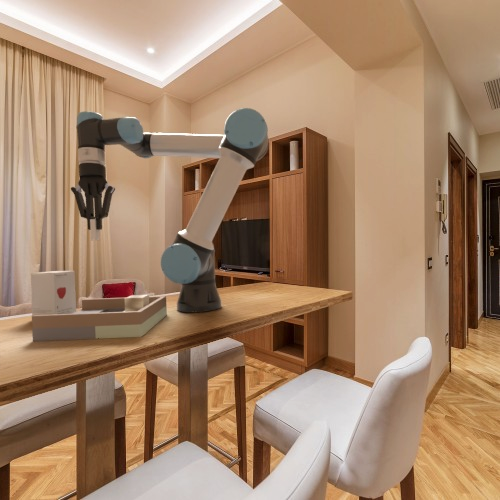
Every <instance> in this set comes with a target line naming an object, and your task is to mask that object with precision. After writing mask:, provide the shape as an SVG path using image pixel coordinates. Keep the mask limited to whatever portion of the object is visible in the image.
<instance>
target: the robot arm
mask: <svg viewBox="0 0 500 500" xmlns="http://www.w3.org/2000/svg"><path fill="white" fill-rule="evenodd" d="M223 128H224V129H223V130H224V131H223V133H224V134H205V133H204V134H198V133H196V134H195V133H193V134H192V133H163V132H158V133H156V132H152V133H151V132H144V128H143V125H142V124H141V121H140V120H139V119H138V118H136V117H134V116H131V117H130V116H122V117H115V118H106V119H105V118H104V117H103V116H102V114H100V113H98V112H95V111H88V110H85V111H80V112H79V113H78V114H77V116H76V133H77V134H76V135H77V136H76V137H77V156H78V157H77V159H78V163H79V165H78V176H79V179H78V182H77V185H76V186H72V187H70V191H71V192H72V194H73V195H74V198H75V202H76V205H77V208H78V212H79V215H80V217H81V218H83V219H86V221H87V229H88V231H90V241H93V242H95V241H100V240H101V238H100V237H101V235H100V230H102V229H103V219H106V218H107V217H109V212H110V208H111V207H110V206H111V202H112V197H113V194H114V192H115V190H116V187H115V186H112V185H110V184H108V181H107V169H106V168H107V167H106V166H105V165H106V151H105V150H106V146H112V145H113V146H114V145H119V146H122V147H123V148H125V149H126V150H128V151H130V152H131V153H133V154H135V156H137V157H138V158H143V159H150V158H152V157H174V158H175V157H176V158H202V159H205V158H206V159H218V161H217V163H216V164H215V167H214V169H213V171H212V173H211V175H210V178H209V180H208V181H207V184H206V185H205V187H204V190H203V192H202V194H201V196H200V198H199V200H198V203H197V205H196V206H195V209H194V211H193V213H192V214H191V215H192V216H191V217H190V219H189V221H188V223H187V226H186V228H185V229H183V230H179V231H178V232H177V234H176V237H175V239H174V240H173V242H172V243H171V245H169V246H168V247H166V248H165V249H164V251H163V253H162V255H161V258H160V268H161V271H162V273H163V275H164V276H165V277H166V279H168V280H169V281H170V282H173V283H175V284H179V285H181V287H180V290H179V295H178V297H177V301H176V310H177V311H179V312H183V313H201V312H203V313H205V312H211V311H215V310H219V309H221V308H222V299H221V297H220V294H219V291H218V288H217V286H216V268H215V267H216V263H215V262H216V260H215V252H216V250H215V245H214V243H213V240H214V238H215V235H216V234H217V232H218V229H219V228H220V225H221V223H222V221H223V219H224V217H225V215H226V213H227V211H228V209H229V207H230V206H231V205H230V204H231V203H232V201H233V198H234V196H235V195H236V192H237V191H238V188H239V187H240V184H241V182H242V181H243V178H244V176H245V174H246V172H247V170H249V169H253V168H254V167H255V165H256V163H257V162H258V161H260V160H261V159H263V157H264V156H265V155H266V154H267V152H268V150H269V146H270V145H269V144H270V141H269V136H268V125H267V122H266V119H265V118H264V117H263V115H262V114H261V113H260V112H259V111H257V110H256V109H254V108H251V107H249V108H248V107H242V108H239V109H236V110H234V111H233V112H231V113H230V114H229V115H228V117H227V118H226V120H225V123H224V127H223ZM104 190H105V192H104ZM82 192H84V196H83V194H82ZM103 193H104V196H103ZM84 197H85V200H84ZM102 199H103V200H102Z"/></svg>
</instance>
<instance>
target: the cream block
mask: <svg viewBox="0 0 500 500" xmlns="http://www.w3.org/2000/svg"><path fill="white" fill-rule="evenodd" d="M149 297H150V295H149V294H132V295H129V296H127V297H123V298H124V299H125V312H128V311H138V310H140V309H142V308H143V307H145V306H147V305H148V304H149Z"/></svg>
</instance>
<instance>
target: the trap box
mask: <svg viewBox="0 0 500 500" xmlns="http://www.w3.org/2000/svg"><path fill="white" fill-rule="evenodd" d="M124 298H125V297H110V298H109V297H108V298H107V297H105V298H83V299H81V309H79V310H76V312H74V313H72V314H51V315H34V316H32V315H31V330H32V342H44V341H66V340H67V341H69V340H70V341H71V340H94V339H95V340H96V339H98V338H99V339H117V338H118V339H120V338H121V339H122V338H142V337H143V336H144V335H145V334H147V333H148V332H149V331H150V330H151V329H153V327H155V326H156V325H157V324H159V323H160V321H162V320H163V319H164V318H165V317H166V316H167V315H168V314H167V311H168V309H167V307H168V306H167V295H160V296H149V304H148V305H147V306H145V307H143V308H142V309H140V310H138V311H128V312H125V299H124ZM99 339H98V340H99Z"/></svg>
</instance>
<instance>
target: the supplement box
mask: <svg viewBox="0 0 500 500" xmlns="http://www.w3.org/2000/svg"><path fill="white" fill-rule="evenodd" d="M75 273H76V272H75V270H53V271H52V270H50V271H40V272H39V271H38V272H32V273H30V287H31V291H30V292H31V317H32V316H34V315H51V314H72V313H74V312H77V299H76V297H77V295H76V280H75V279H76V274H75Z"/></svg>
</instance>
